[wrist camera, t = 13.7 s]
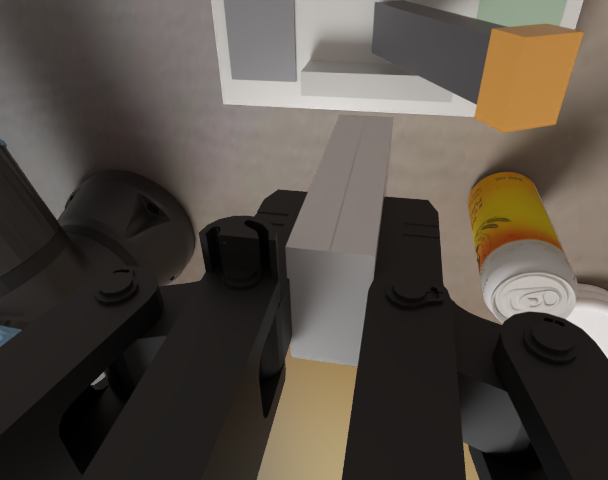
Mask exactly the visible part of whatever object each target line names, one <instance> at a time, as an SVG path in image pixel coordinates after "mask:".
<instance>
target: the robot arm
mask: <svg viewBox="0 0 608 480" xmlns="http://www.w3.org/2000/svg"><path fill="white" fill-rule="evenodd" d="M392 125H393V117H377V116H357V115H339V118H338V120H337V122H336V125H335V127H334V130H333V132H332V135H331V137H330V139H329V142H328V144H327V147H326V149H325V152H324V154H323V157H322V159H321V161H320V164H319V166H318V169H317V171H316V174H315V176H314V178H313V181H312V183H311V186H310V188H309V191H308V192H302V191H289V190H277V191H276V192H274V193H273V194H271V195H270V196H268V197H267V198H265V199H264V201H263V202H262V204H261V206H260V208H259V209H258V211H257V214H256V215H255V217H252V216H232V217H227V218H223V219H219V220H217V221H215V222H213V223H210V224H208V225H207V226H206V227H205V228H204V229H202V230H201V231H200V232H199V236H200V242H201V247H202V253H203V258H204V264H205V269H206V272H205V274H204V276H203V277H202V279H201V280H200V281H197V282H191V283H186V284H176V285H167V284H169V283H170V282H172V281H173V280H175V279H176V278H177V277H178V276H179V275H180V274H181V273H182V271H183V270H184V268H185V267H186V266H187V264H188V263H189V261H190V259H191V257H192V255H193V251H194V234H193V230H192V226H191V224H190V221H189V219H188V217H187V215H186V214H185V212H184V211H183V209H182V208H181V206H180V205H179V204H178V203H177V201H176V200H175V199H174V198H173V197H172V196H171V195H170V194H169V193H167V192H166V191H165V190H164V189H163V188H161V187H160V186H158V185H157V184H155V183H154V182H152V181H150V180H148V179H146V178H144V177H142V176H139V175H136V174H133V173H129V172H124V171H105V172H101V173H98V174H95V175H93V176H91V177H90V178H88V179H87V180H86V181H85V182H83V183H82V184H81V185H79V186H78V187H77V188H76V189H75V190H74V191H73V192H72V194H71V195H70V197H69V199H68V201H67V203H66V206H65V210H64V211H63V212H62V214H61V215H60V217H59V219H58V221H57V220H56V218H55V217H54V215H53V214H52V213H51V211H50V210H49V208H48V207H47V206H46V204H45V203H44V201H43V200H42V199H41V197H40V196H39V194H38V193H37V192H36V190H35V189H34V187H33V186H32V185H31V183H30V182H29V180H28V179H27V177H26V176H25V174H24V173H23V171H22V170H21V169H20V167H19V166H18V164H17V163H16V161H15V160H14V158H13V157H12V155H11V154H10V153H9V151H8V150H7V148H6V146H7V145H6V143H5V142H4V141H3V140H1V139H0V480H256V479H257V476H258V472H259V469H260V466H261V462H262V458H263V455H264V451H265V448H266V445H267V441H268V438H269V434H270V431H271V427H272V424H273V420H274V417H275V413H276V410H277V406H278V403H279V399H280V396H281V393H282V389H283V385H284V382H285V373H286V367H285V357H286V354H287V351H288V348H289V344H290V342H291V357H295V358H302V359H308V360H316V361H322V362H329V363H335V364H342V365H350V366H356V367H358V368H357V375H356V382H355V389H354V396H353V404H352V411H351V418H350V425H349V432H348V440H347V446H346V453H345V460H344V467H343V475H342V480H466V474H465V462H464V450H463V442H464V443H466V444H468V446H469V451H470V454H471V457H472V460H473V462H474V465H475V468H476V471H477V474H478V476H479V479H480V480H608V358H607V357H606V355H605V354H604V353H603V351H602V350H601V349H600V347H599V346H598V345H597V343H596V342H595V341H594V340H593V339H592V338H591V337H590V336H589V335H588V334H587V333H586V332H585V331H584V330H583V329H581V328H580V327H578V326H576V325H575V324H573V323H571V322H570V321H568V320H566V319H564V318H561V317H558V316H554V315H551V314H548V313H542V312H531V311H528V312H523V313H518V314H514V315H512V316H511V317H510V318H508V319H507V320H505V321H504V323H503V325H500V324H497V323H494V322H491V321H489V320H486V319H483V318H480V317H478V316H476V315H473V314H471V313H469V312H467V311H465V310H464V309H462V308H461V307H459V306H458V305H457V304H456V303H455V302H454V301H453V300H451V298H450V296H449V293H448V290H447V289H446V288H445V287H444V285H443V275H442V261H441V246H440V232H439V217H438V212H437V211H436V209H435V208H434V207H433V206H432V204H431V203H430V202H429V201H428V200H420V199H408V198H395V197H386V189H387V178H388V168H389V157H390V146H391V135H392ZM165 285H167V286H165ZM103 372H104V374H105V377H104V378H103V379H102V380H101V381H99V382H98V383H97V384H95V385H91V384H92V383H93V382H94V381H95V380H96V379H97V378H98V377H99V376H100V375H101V374H102V373H103Z"/></svg>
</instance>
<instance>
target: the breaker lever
mask: <svg viewBox="0 0 608 480" xmlns="http://www.w3.org/2000/svg"><path fill="white" fill-rule="evenodd" d="M583 34H584V31H579V30H575V29H570V28H566V27H561V26H557V25H552V24H548V23H546V24H535V25H524V26H513V27H507V26H503V25H499V24H495V23H491V22H487V21H483V20H479V19H475V18H471V17H467V16H463V15H459V14H455V13H452V12H448V11H444V10H440V9H436V8H432V7H428V6H424V5H420V4H416V3H412V2H408V1H404V0H399V1H385V2H375V6H374V22H373V38H372V53H373V54H375V55H377V56H379V57H381V58H384V59H386V60H388V61H390V62H392V63H394V64H396V65H398V66H400V67H402V68H404V69H406V70H408V71H410V72H412V73H414V74H416V75H418V76H420V77H422V78H424V79H426V80H428V81H430V82H432V83H434V84H436V85H438V86H440V87H442V88H444V89H446V90H448V91H450V92H452V93H454V94H456V95H458V96H460V97H462V98H464V99H466V100H468V101H470V102H472V103H474V104H476V105H477V106H476V111H475V116H474V118H476V119H478V120H479V121H481V122H483V123H485V124H487V125H489V126H491V127H492V128H494V129H496V130H498V131H500V132H502V133H505V132H511V131H518V130H524V129H530V128H537V127H543V126H549V125H555V124H556V122H557V119H558V115H559V112H560V109H561V106H562V102H563V99H564V96H565V93H566V89H567V86H568V83H569V79H570V76H571V73H572V70H573V66H574V63H575V60H576V57H577V53H578V50H579V47H580V44H581V40H582V37H583Z"/></svg>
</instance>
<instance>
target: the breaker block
mask: <svg viewBox="0 0 608 480" xmlns="http://www.w3.org/2000/svg"><path fill="white" fill-rule="evenodd" d="M385 1H399V0H211V4H212V12H213V20H214V29H215V37H216V45H217V54H218V62H219V70H220V79H221V87H222V96H223V104H233V105H253V106H272V107H292V108H312V109H331V110H351V111H370V112H390V113H409V114H429V115H448V116H468V117H474V116H475V111H476V106H477V105H476V104H474V103H472V102H470V101H468V100H466V99H464V98H462V97H460V96H458V95H456V94H454V93H452V92H450V91H448V90H446V89H444V88H442V87H440V86H438V85H436V84H434V83H432V82H430V81H428V80H426V79H424V78H422V77H420V76H418V75H416V74H414V73H412V72H410V71H408V70H406V69H404V68H402V67H400V66H398V65H396V64H394V63H392V62H390V61H388V60H386V59H384V58H381V57H379V56H377V55H375V54H373V53H372V38H373V22H374V6H375V2H385ZM404 1H408V2H412V3H416V4H420V5H424V6H428V7H432V8H436V9H440V10H444V11H448V12H452V13H455V14H459V15H463V16H467V17H471V18H475V19H479V20H483V21H487V22H491V23H495V24H499V25H503V26H507V27H513V26H524V25H535V24H546V23H548V24H552V25H557V26H561V27H566V28H570V29H575V28H576V24H577V21H578V18H579V14H580V11H581V7H582V4H583V1H584V0H404Z"/></svg>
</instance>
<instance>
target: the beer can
mask: <svg viewBox="0 0 608 480" xmlns="http://www.w3.org/2000/svg"><path fill="white" fill-rule="evenodd" d="M468 209H469V215H470V221H471V227H472V232H473V238H474V244H475V250H476V256H477V262H478V267H479V273H480V279H481V285H482V291H483V297H484V301H485V303H486V305H487V307H488V308H489V309H490V310H491V311H492V312H493V313H494V315H495V316H496V318H497V319H498V320H499V321H501V322H502V323H504V321H505V320H507V319H508V318H510V317H511V316H512V315H514V314H518V313H523V312H528V311H531V312H542V313H548V314H551V315H554V316H558V317H561V318H564V319H566V318H567V317H568V316H569V315H570V314H571V313H572V311H573V309H574V307H575V304H576V297H577V293H578V282H577V279H576V277H575V275H574V272H573V270H572V268H571V266H570V263H569V261H568V259H567V256H566V254H565V252H564V250H563V247H562V245H561V243H560V241H559V238H558V236H557V234H556V231H555V229H554V227H553V225H552V222H551V220H550V218H549V216H548V213H547V211H546V209H545V206H544V204H543V202H542V200H541V197H540V195H539V193H538V191H537V188H536V186H535V185H534V183H533V182H532V181H531V180H530V179H529V178H527V177H526V176H524V175H522V174H519V173H515V172H500V173H495V174H492V175H489V176H487V177H485V178H484V179H482V180H481V181H480V182H478V183H477V184H476V185H475V187H474V188H473V189H472V191H471V193H470V195H469V199H468Z"/></svg>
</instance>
